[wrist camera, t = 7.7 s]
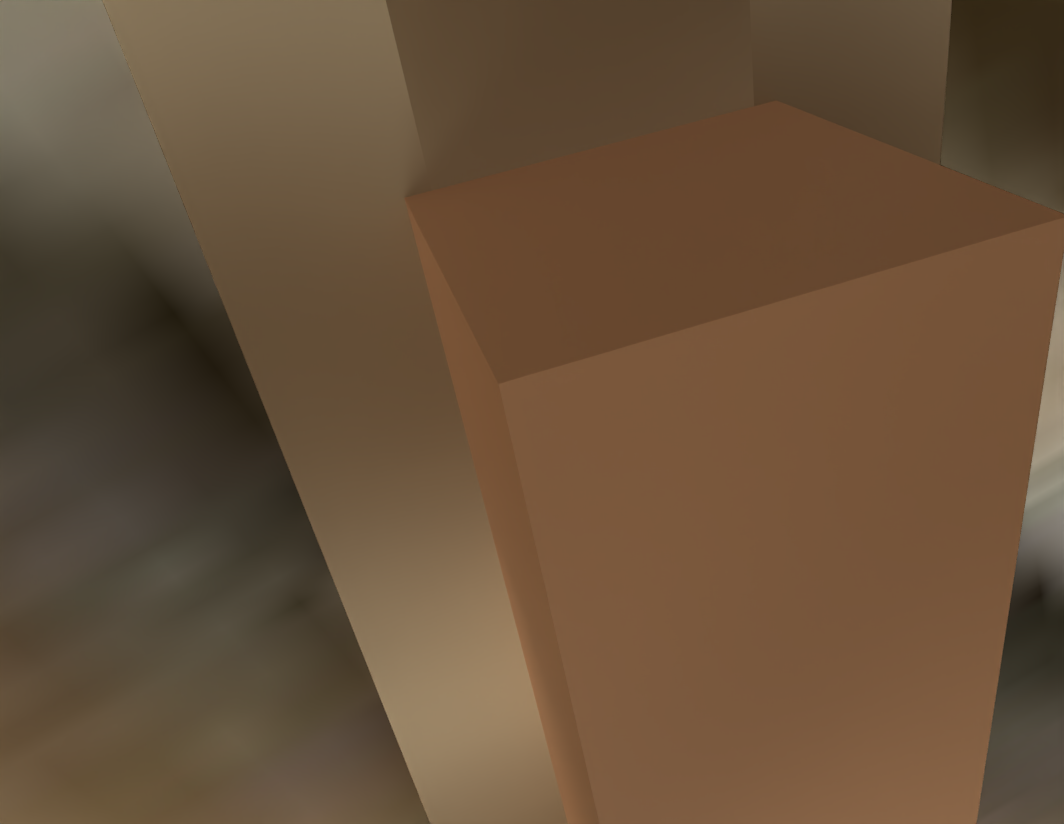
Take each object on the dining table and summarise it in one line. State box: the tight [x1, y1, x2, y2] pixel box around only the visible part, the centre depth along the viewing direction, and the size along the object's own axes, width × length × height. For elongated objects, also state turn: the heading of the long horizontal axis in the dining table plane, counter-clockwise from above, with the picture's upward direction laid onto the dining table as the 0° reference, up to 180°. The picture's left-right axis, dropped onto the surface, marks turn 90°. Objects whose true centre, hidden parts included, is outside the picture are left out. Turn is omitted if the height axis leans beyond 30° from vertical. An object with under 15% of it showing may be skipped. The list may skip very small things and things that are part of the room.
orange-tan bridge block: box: [404, 100, 1064, 824], centre depth 9 cm, size 10×3×6 cm, turn 10°
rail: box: [102, 0, 952, 824], centre depth 13 cm, size 22×6×3 cm, turn 10°
